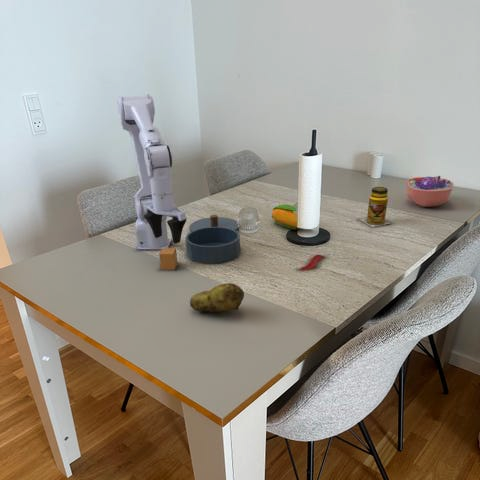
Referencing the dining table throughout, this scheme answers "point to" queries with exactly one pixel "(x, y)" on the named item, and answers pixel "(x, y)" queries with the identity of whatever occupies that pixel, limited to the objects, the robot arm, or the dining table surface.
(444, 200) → the cell model
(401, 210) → the dining table surface
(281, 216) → the corn
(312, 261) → the cayenne pepper
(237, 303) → the potato
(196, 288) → the dining table surface
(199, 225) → the pot lid
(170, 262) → the wooden brick
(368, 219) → the condiment
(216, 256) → the pot
